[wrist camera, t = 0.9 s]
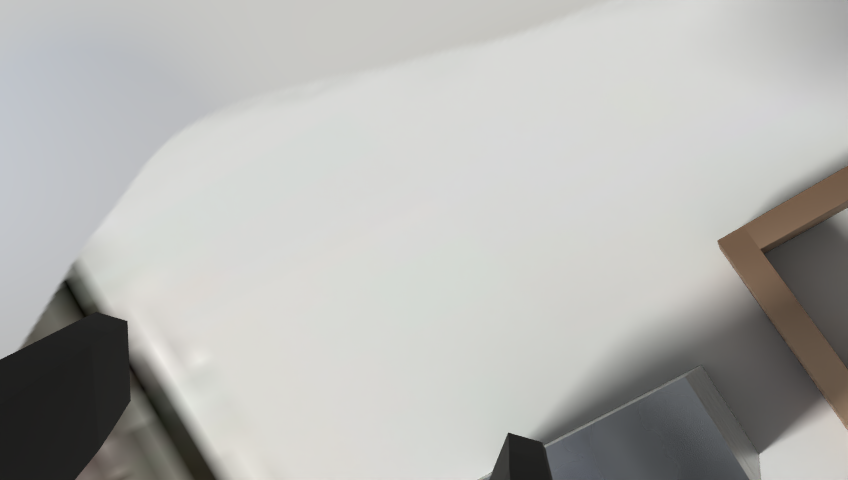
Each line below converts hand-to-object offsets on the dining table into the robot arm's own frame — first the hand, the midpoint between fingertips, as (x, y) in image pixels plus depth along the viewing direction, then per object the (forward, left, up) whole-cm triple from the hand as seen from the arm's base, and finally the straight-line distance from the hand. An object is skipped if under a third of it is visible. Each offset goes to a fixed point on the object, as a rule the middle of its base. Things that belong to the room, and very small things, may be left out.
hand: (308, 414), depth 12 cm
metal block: (-4, -1, -13) cm, 13 cm away
